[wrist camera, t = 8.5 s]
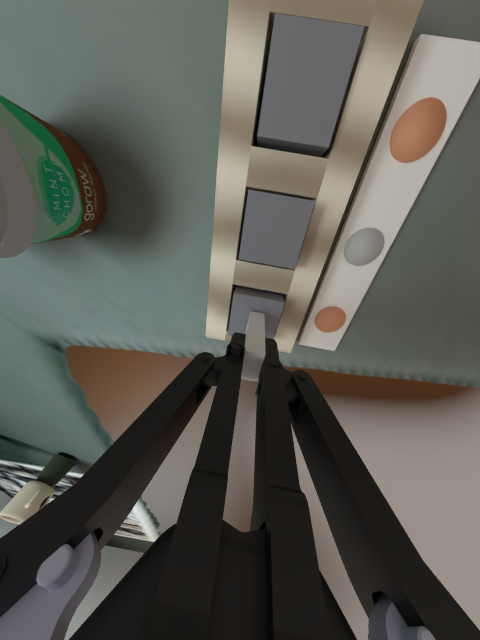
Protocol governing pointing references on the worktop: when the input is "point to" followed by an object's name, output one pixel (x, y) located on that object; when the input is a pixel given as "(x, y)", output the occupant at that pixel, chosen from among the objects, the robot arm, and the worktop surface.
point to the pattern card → (393, 177)
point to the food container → (43, 183)
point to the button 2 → (305, 83)
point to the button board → (291, 168)
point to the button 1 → (255, 309)
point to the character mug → (37, 491)
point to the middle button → (274, 228)
